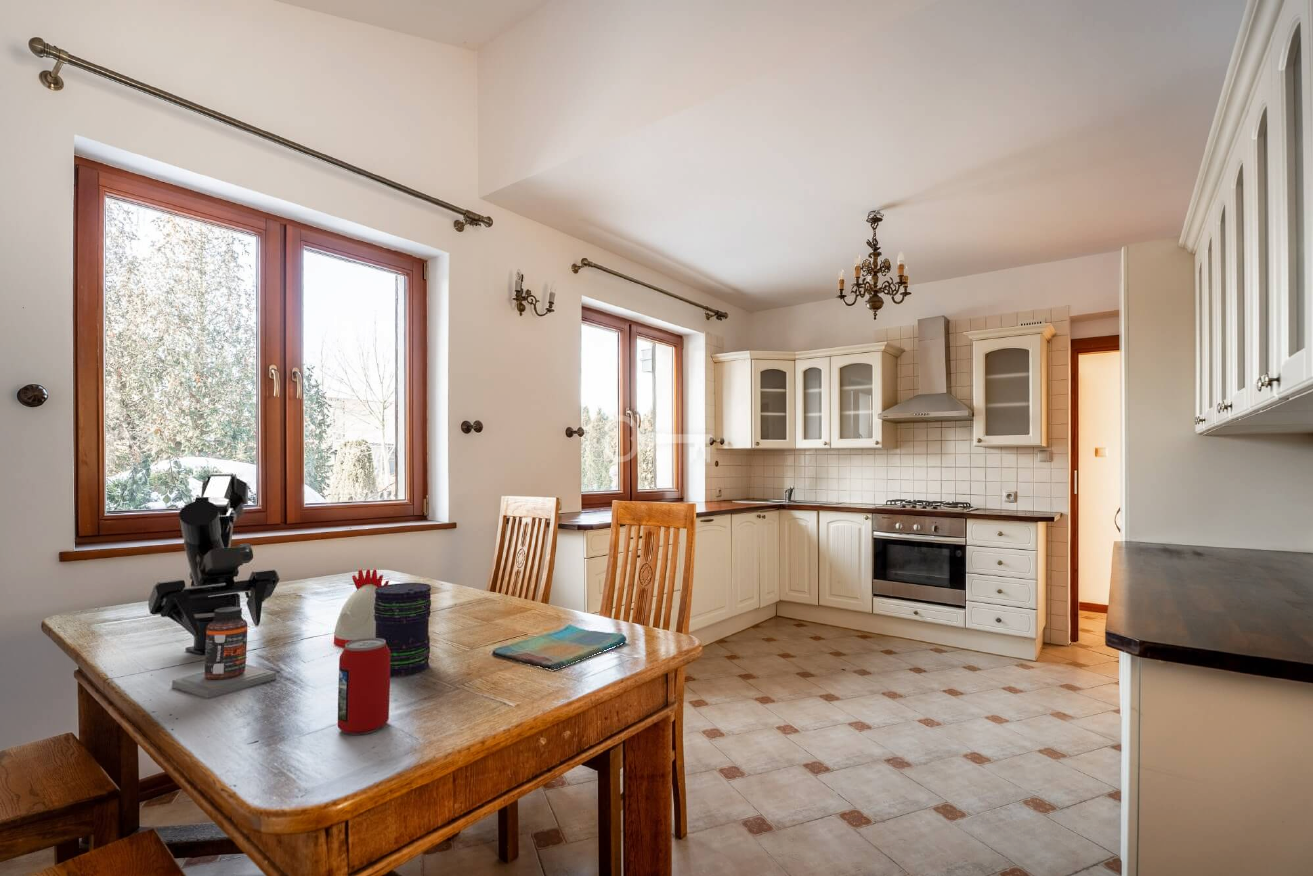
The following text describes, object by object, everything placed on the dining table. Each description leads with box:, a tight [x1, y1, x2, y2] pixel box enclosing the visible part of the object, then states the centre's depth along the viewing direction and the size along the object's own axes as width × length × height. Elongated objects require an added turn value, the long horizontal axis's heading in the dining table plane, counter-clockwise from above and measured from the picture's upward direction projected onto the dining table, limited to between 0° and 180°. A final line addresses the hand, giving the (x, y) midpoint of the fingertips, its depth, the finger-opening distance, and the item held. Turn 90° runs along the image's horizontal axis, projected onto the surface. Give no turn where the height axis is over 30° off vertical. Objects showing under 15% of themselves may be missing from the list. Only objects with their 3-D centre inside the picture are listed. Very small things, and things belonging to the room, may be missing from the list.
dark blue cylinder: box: [374, 582, 432, 679], centre depth 119 cm, size 10×10×15 cm
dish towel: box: [491, 624, 627, 670], centre depth 132 cm, size 17×23×2 cm
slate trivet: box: [171, 664, 277, 700], centre depth 110 cm, size 11×11×1 cm
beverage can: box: [337, 638, 391, 735], centre depth 92 cm, size 7×7×12 cm
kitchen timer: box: [333, 569, 390, 648], centre depth 139 cm, size 14×14×15 cm
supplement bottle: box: [203, 607, 248, 679], centre depth 111 cm, size 6×6×11 cm
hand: (228, 629), depth 111 cm, fingers open, 9 cm apart
